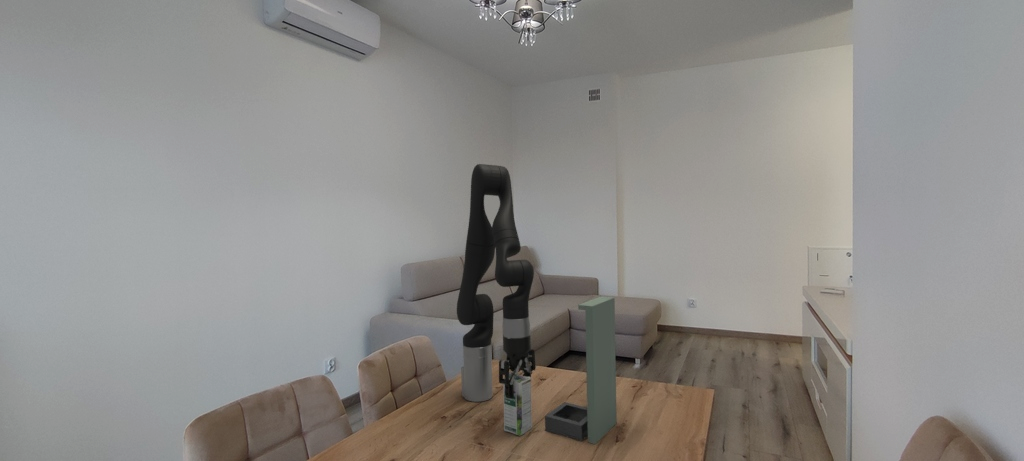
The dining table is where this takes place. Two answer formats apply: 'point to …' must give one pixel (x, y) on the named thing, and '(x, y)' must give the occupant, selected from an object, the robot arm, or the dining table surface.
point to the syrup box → (518, 407)
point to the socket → (568, 421)
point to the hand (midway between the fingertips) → (518, 392)
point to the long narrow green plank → (600, 366)
